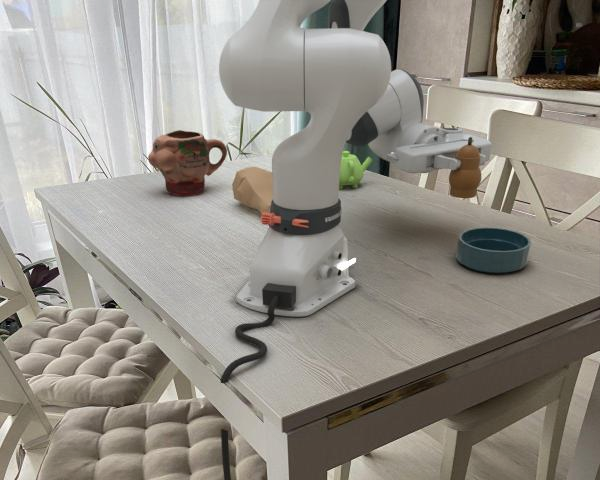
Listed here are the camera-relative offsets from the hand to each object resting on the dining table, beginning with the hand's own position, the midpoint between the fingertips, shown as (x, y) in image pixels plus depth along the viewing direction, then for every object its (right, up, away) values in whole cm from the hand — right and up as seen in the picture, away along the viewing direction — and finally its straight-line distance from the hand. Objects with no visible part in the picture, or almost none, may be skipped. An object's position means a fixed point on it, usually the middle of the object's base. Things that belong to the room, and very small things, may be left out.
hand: (470, 163), depth 114 cm
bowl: (+5, -18, +3) cm, 19 cm away
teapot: (-20, +13, +48) cm, 54 cm away
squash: (-41, +1, +31) cm, 51 cm away
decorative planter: (-60, +10, +45) cm, 76 cm away
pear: (0, -5, +4) cm, 6 cm away
